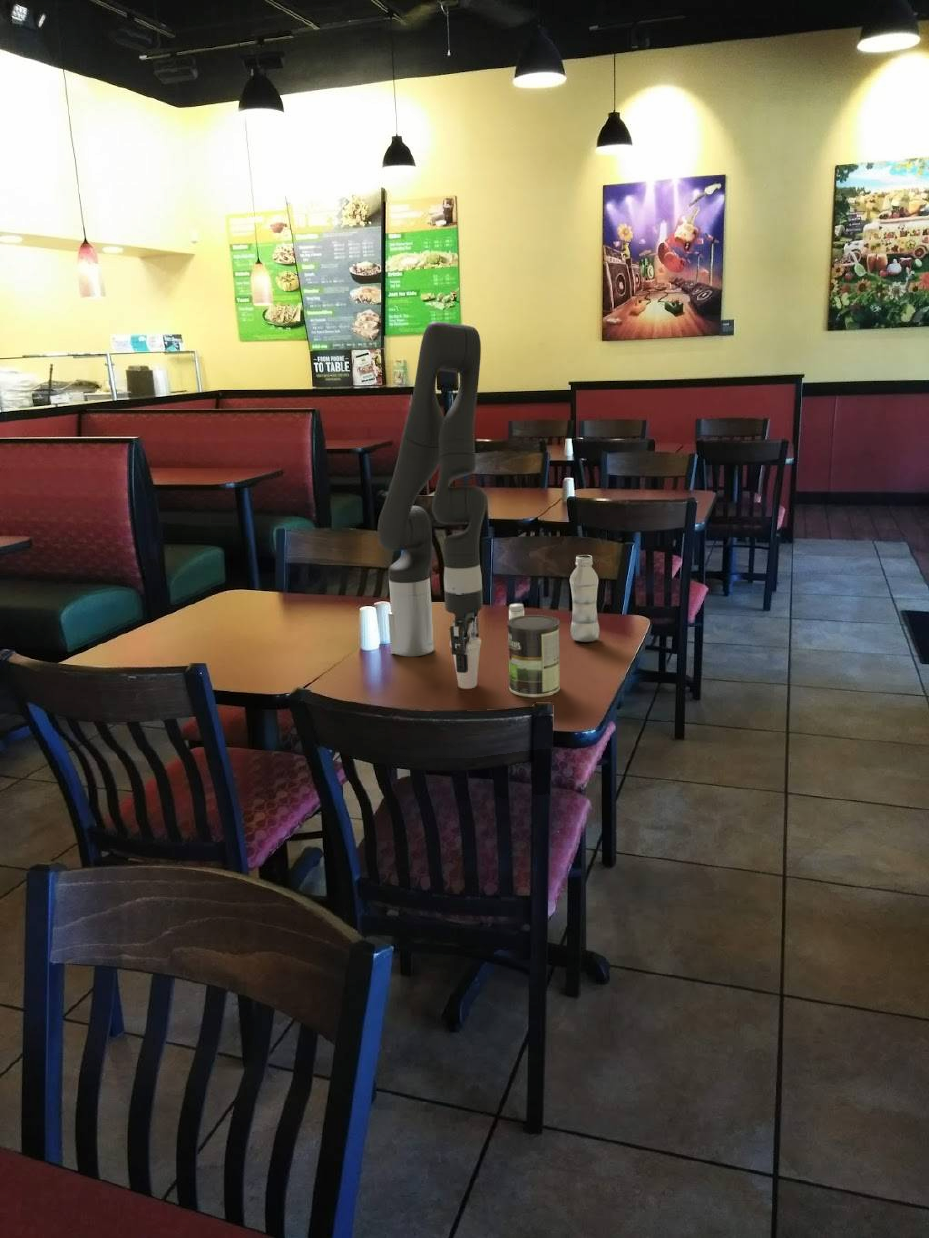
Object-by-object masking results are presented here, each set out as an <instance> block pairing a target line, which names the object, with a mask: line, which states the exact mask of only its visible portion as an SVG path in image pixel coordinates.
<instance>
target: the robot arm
mask: <svg viewBox="0 0 929 1238" xmlns="http://www.w3.org/2000/svg"><path fill="white" fill-rule="evenodd" d="M481 354H482V344H481V336H480V334H479V331H478V330H477V329H476V328H475V327H474V326H471V325H466V324H460V323H459V324H458V323H453V322H446V321H436V320H433V321H431V322H429V323H428V324H427V326H426V328H425V330H424V332H423V335H422V339H421V343H420V349H419V355H418V362H417V367H416V374H415V379H414V387H413V392H412V396H411V402H410V405H409V410H408V413H407V416H406V421H405V424H404V427H403V428H404V429H403V431H402V432H403V433H402V436H401V440H400V441H401V442H400V445H399V449H398V455H397V460H396V463H395V468H394V471H393V474H392V475H393V476H392V478H391V479H392V480H391V483H390V486H389V489H388V491H387V495H386V497H385V501H384V504H383V506H382V508H381V511H380V515H379V518H378V524H377V537H378V540H379V541H378V542H379V543H380V546H381V547H382V548H383V549H384V550H386V551H388V552H400V551H402V554H401V555H400V557H399V558H398V559H397V560H396V561H395V562H394V563H392V564H391V565H390V566H389V567H388V584H389V585H388V586H389V587H388V588H389V599H390V600H389V601H390V612H389V613H388V615H387V616H388V628H389V629H388V633H389V644H390V654H391V655H393V654H395V655H397V656H401V657H419V656H421V657H422V656H424V655H429V654H431V653H432V652H434V650H435V649H434V632H433V630H434V629H433V612H432V596H431V593H432V592H431V578H430V577H431V576H430V572H431V568H432V565H433V564H432V563H433V530H432V523H431V519H430V516H429V514H428V513H427V511H426V510H425V509H424V508H423V507H422V506H419V505H418V506H417V505H414V503H415V500H416V498H418V497H417V496H418V495H419V494H420V492H421V491H422V490H423V489H424V487H425V486H426V485H427V483H428V482H430V480H431V479H432V477H433V476H434V475H435V473H436V472H437V471H438V475H437V477H438V478H437V481H436V486H435V490H434V494H433V497H432V502H431V513H432V515H433V517H434V519H435V520H436V521H437V522H438V523H439V524H444V525H445V524H446V525H447V524H466V523H468V526H467V527H466V529H465V530H464V531H461V532H457V533H455V534H454V533H453V534H450V535H448V536H446V537H445V538H444V540H443V562H444V563H443V566H444V570H443V586H444V587H443V588H444V589H443V590H444V609H445V611H446V612H447V613H449V614H453V615H454V620H453V621H452V625H451V626H450V627H449V633H450V635H449V636H450V641H451V647H450V648H451V655H452V656H453V655H456V668H457V672H459V673H466V672H467V671H468V656H467V653H468V644H470V643H471V636H472V637H477V638H479V636H480V634H479V612H480V611H482V609H483V606H484V605H483V584H482V582H483V581H482V572H481V563H480V561H481V560H480V558H481V557H480V537H481V529H482V525H483V521H484V518H485V514H486V511H487V501H488V500H487V496H486V493H485V491H484V490H483V489H482V488H481V487H480V486H477V485H470V486H469V485H468V486H467V485H466V486H464V485H463V486H451V484H452V483H453V482H454V481H455V480H456V479H460V478H463V477H466V476H470V475H472V474H473V473H474V472H475V470H476V464H477V463H476V443H475V442H476V441H475V439H476V438H475V423H476V422H475V421H476V420H475V419H476V418H475V417H476V410H477V400H478V392H479V391H478V389H479V381H480V380H479V379H480V370H481V369H480V368H481V359H482V358H481ZM440 371H441V372H450V373H457V374H458V375H459V386H458V390H457V394H456V397H455V398H454V401H453V402H452V404H451V406H450V408H449V409H448V410H447V413H446V414H445V416H444V414H443V412H442V409H441V406H440V403H439V401H438V397H437V392H436V387H437V386H436V383H437V377H438V373H439V372H440ZM438 469H439V470H438ZM464 638H466V639H464ZM459 644H460V645H461V649H458V645H459Z"/></svg>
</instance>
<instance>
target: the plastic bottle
mask: <svg viewBox="0 0 929 1238" xmlns="http://www.w3.org/2000/svg"><path fill="white" fill-rule="evenodd" d="M593 563H594V562H593V556H592V555H589V554H580V555H576V557H575V566H576V567H575V568H574V569H573V571H572V573H571V574H570V578H569V584H570V589H571V590H570V591H571V597H572V598H571V599H572V600H571V601H572V616H571V617H572V618H571V624H570V635H571V637H572V639H573V640H574V641H577V642H580V643H581V642H583V643H587V642H588V643H591V642H594V641H596V640H597V639H598V638H599V634H600V625H599V624H600V623H599V621H598V612H597V598H598V588H599V577H598V574H597V573H596V571H595V569H594V568H593V567H592V565H594V564H593Z"/></svg>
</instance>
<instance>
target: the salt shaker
mask: <svg viewBox="0 0 929 1238" xmlns="http://www.w3.org/2000/svg"><path fill="white" fill-rule="evenodd" d="M524 615H525V609H524V604H523V603H511V604H509V609H508V621H509V620H510V619H512V618H515V617H518V616H524Z"/></svg>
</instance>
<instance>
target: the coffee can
mask: <svg viewBox="0 0 929 1238" xmlns="http://www.w3.org/2000/svg"><path fill="white" fill-rule="evenodd" d="M506 623H507V626H506V627H507V634H508V635H507V637H508V668H509V669H508V670H509V671H508V674H509V675H508V676H509V677H508V678H509V692H511V693H512V694H514V695H517V696H519V697H525V698H543V697H549V696H552V695H554V693H555V694H557V693H558V692H559V691H560V690H561V686H560V628H559V627H560V620H559V619H558V618H556V617H554V616H550V615H546V614H545V615H544V614H524V616H518V617H515V618H512V619H510V620H509V619H508V621H507V622H506Z"/></svg>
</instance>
